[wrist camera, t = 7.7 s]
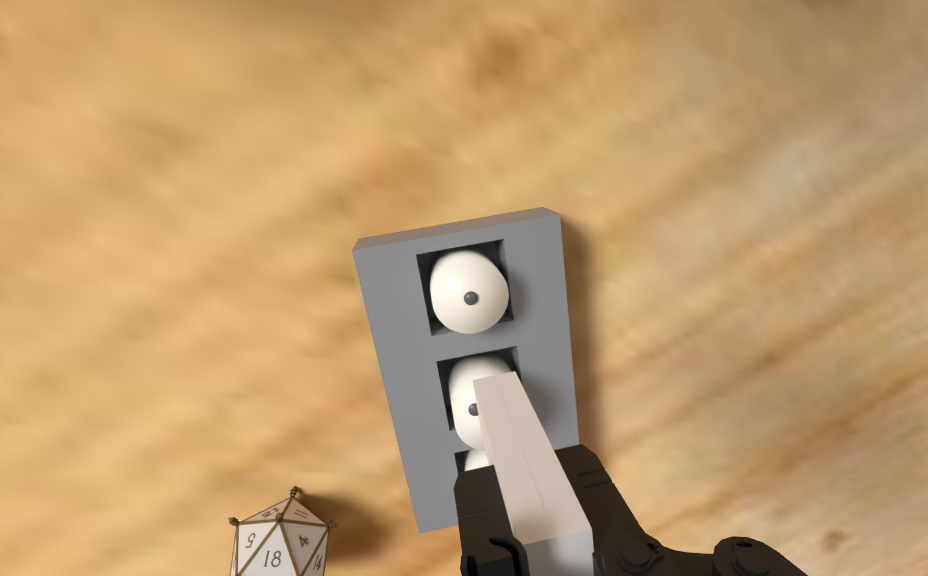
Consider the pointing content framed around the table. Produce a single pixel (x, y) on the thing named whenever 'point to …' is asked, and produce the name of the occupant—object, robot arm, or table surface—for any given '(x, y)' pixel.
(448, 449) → the button board
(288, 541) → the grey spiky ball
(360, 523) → the table surface
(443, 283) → the button
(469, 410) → the button
